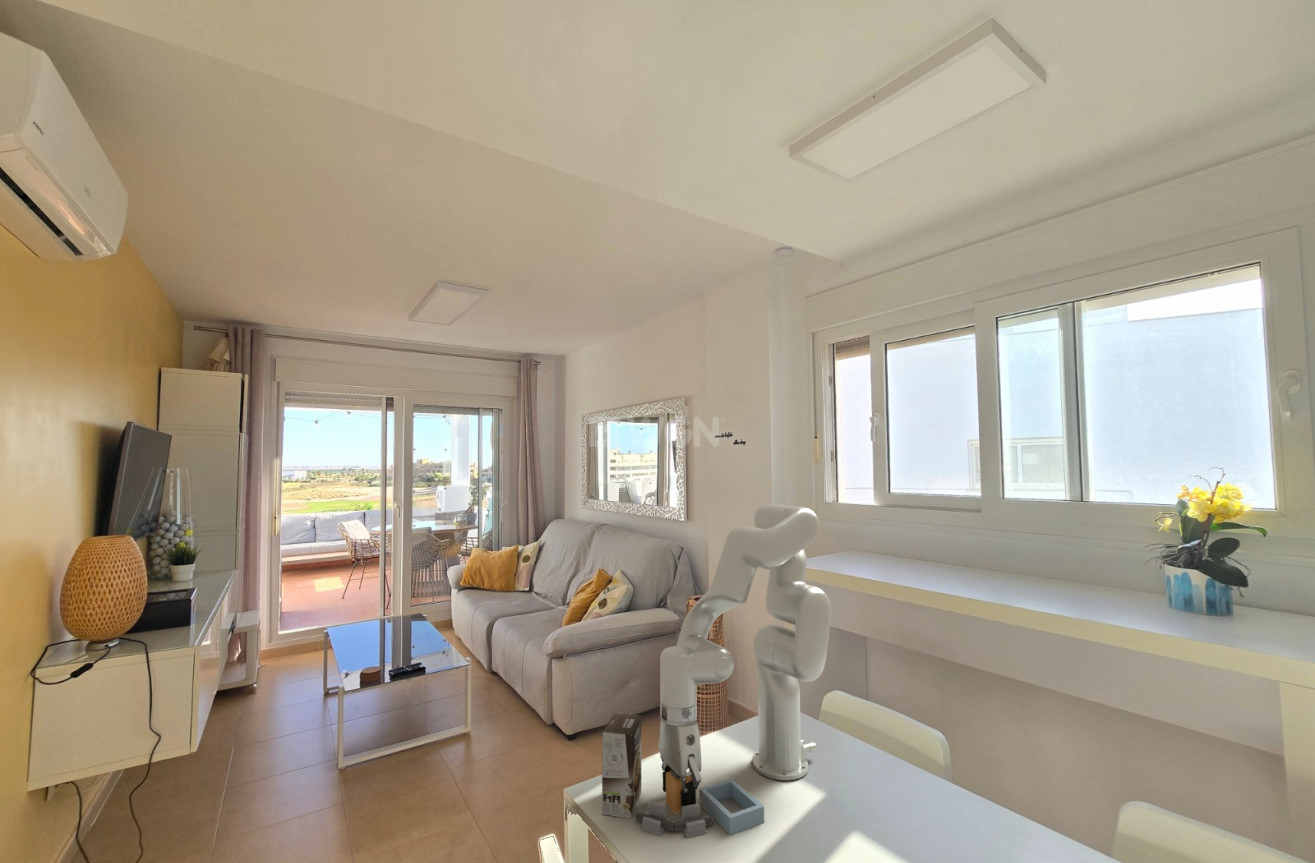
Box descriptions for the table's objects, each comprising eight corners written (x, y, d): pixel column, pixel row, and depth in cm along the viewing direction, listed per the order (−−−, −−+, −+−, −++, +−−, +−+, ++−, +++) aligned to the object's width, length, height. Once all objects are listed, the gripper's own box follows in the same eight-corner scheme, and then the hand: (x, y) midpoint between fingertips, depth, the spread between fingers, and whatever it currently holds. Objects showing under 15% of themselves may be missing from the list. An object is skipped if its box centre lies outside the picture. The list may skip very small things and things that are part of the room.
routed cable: (712, 820, 108) (712, 815, 108) (712, 833, 104) (712, 827, 104) (635, 816, 109) (635, 811, 109) (632, 828, 105) (632, 823, 105)
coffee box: (632, 819, 109) (632, 734, 110) (600, 815, 110) (601, 731, 111) (642, 792, 118) (642, 714, 119) (613, 789, 119) (613, 712, 120)
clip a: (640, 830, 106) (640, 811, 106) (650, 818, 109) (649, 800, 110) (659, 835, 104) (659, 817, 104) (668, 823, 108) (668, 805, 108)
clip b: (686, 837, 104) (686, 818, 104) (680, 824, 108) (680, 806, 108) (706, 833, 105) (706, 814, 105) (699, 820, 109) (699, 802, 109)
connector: (682, 797, 116) (682, 764, 117) (692, 808, 113) (692, 773, 113) (665, 803, 114) (665, 768, 115) (675, 813, 111) (675, 778, 111)
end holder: (731, 792, 118) (731, 778, 118) (764, 822, 108) (764, 806, 108) (699, 803, 114) (699, 788, 114) (730, 835, 104) (730, 818, 105)
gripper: (716, 723, 109) (717, 818, 108) (673, 691, 124) (674, 774, 123) (683, 732, 105) (684, 829, 104) (643, 698, 121) (643, 783, 120)
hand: (678, 798), depth 114 cm, fingers open, 6 cm apart
